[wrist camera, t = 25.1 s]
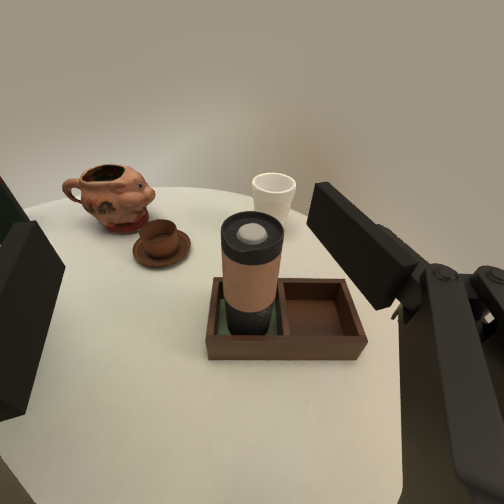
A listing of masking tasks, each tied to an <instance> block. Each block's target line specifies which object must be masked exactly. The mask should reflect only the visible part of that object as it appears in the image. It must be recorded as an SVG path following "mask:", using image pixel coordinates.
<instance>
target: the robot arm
mask: <svg viewBox="0 0 504 504" xmlns="http://www.w3.org/2000/svg"><path fill="white" fill-rule="evenodd" d="M307 226H308V227H309V228H310V229H311V231H312V232H313V233H314V234H315V236H316V237H317V238H318V239H319V241H320V242H321V243H322V244H323V246H324V247H325V248H326V249H327V251H328V252H329V253H330V254H331V255H332V257H333V258H334V259H335V260H336V262H337V263H338V264H339V265H340V267H341V268H342V269H343V270H344V272H345V273H346V274H347V275H348V277H349V278H350V279H351V280H352V282H353V283H354V284H355V285H356V287H357V288H358V289H359V290H360V292H361V293H362V294H363V295H364V296H365V298H366V299H367V300H368V301H369V303H370V304H371V305H372V306H373V308H374V309H375V310H376V311H377V310H380V309H384V308H387V307H390V306H391V305H392V303H393V302H394V300H395V298H397V299H398V300H399V301H400V305H399V306H398V308H397V309H396V311H395V312H394V313H393V315H392V318H391V319H392V320H394V319H395V317H396V316H397V315H398V325H399V362H400V398H401V435H402V471H403V488H402V494H401V496H400V498H399V501H398V503H397V504H504V270H502V269H499V268H496V267H492V266H481V267H479V268H478V269H477V270H476V271H475V272H474V273H473V274H458V273H457V272H456V271H455V270H453V269H451V268H450V267H448V266H445V265H442V264H436V263H434V264H429V263H428V262H427V261H426V260H424V259H423V258H422V257H421V256H420V255H419V254H417V253H416V252H415V251H414V250H413V249H412V248H410V247H409V246H408V245H407V244H406V243H404V242H403V241H402V240H401V239H400V238H397V236H396V235H395V234H394V233H393V232H392V231H391V230H389V229H388V228H386V227H384V226H382V225H380V224H375V223H374V222H373V221H372V220H370V219H369V218H368V217H367V216H366V215H365V214H364V213H363V212H361V211H360V210H359V209H358V208H357V207H356V206H355V205H353V204H352V203H351V202H350V201H349V200H348V199H347V198H345V197H344V196H343V195H342V194H341V193H340V192H339V191H338V190H336V189H335V188H334V187H333V186H332V185H331V184H330V183H329V182H321V183H315V187H314V192H313V196H312V201H311V205H310V210H309V214H308V219H307ZM64 271H65V265H64V264H63V262H62V260H61V259H60V257H59V256H58V254H57V253H56V251H55V250H54V248H53V246H52V245H51V243H50V242H49V240H48V239H47V237H46V236H45V234H44V232H43V231H42V229H41V228H40V226H39V225H38V223H37V221H36V220H35V221H27V222H19V223H14V224H13V226H12V227H11V229H10V231H9V233H8V234H7V236H6V238H5V240H4V241H3V243H2V245H1V247H0V422H1V421H5V420H8V419H12V418H15V417H18V416H22V415H25V413H26V409H27V406H28V402H29V398H30V395H31V391H32V387H33V384H34V380H35V376H36V373H37V369H38V366H39V362H40V358H41V355H42V351H43V347H44V344H45V340H46V336H47V333H48V329H49V325H50V322H51V318H52V315H53V311H54V307H55V304H56V300H57V296H58V293H59V289H60V285H61V282H62V278H63V274H64ZM490 312H491V314H492V315H493V317H494V318H495V319H494V320H493V321H491V322H490V323H488V322H487V321H486V320H485V318H484V317H485V316H486V315H487V314H488V313H490ZM0 504H36V503H35V502H34V501H33V499H32V498H31V497H30V495H29V494H28V493H27V491H26V490H25V489H24V487H23V486H22V485H21V483H20V482H19V481H18V479H17V478H16V477H15V475H14V474H13V473H12V471H11V470H10V469H9V467H8V466H7V465H6V463H5V462H4V461H3V459H2V458H1V457H0Z"/></svg>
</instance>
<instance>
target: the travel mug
mask: <svg viewBox="0 0 504 504" xmlns="http://www.w3.org/2000/svg"><path fill="white" fill-rule="evenodd" d="M283 238H284V229H283V226H282V224H281V223H280V221H278V220H277V219H276V218H275V217H273V216H271V215H269V214H266V213H262V212H256V211H246V212H240V213H236V214H234V215H232V216H230V217H228V218H227V219H226V220H225V221H224V222H223V224H222V226H221V248H222V270H223V292H224V302H225V311H226V320H227V326H228V330H229V332H230V333H231V335H265V334H266V333H267V331H268V329H269V325H270V320H271V315H272V310H273V306H274V301H275V296H276V289H277V281H278V274H279V267H280V260H281V252H282V245H283Z"/></svg>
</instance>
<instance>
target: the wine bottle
mask: <svg viewBox="0 0 504 504" xmlns="http://www.w3.org/2000/svg"><path fill="white" fill-rule="evenodd" d="M27 221H30V219H29V218H28V217H27V215H26V214H25V212H24V211H23V209H22V208H21V206H20V205H19V203H18V202H17V200H16V199H15V197H14V196H13V194H12V193H11V191H10V190H9V188H8V187H7V185H6V184H5V182H4V181H3V179H2V178H1V176H0V244H2V243H3V241H4V240H5V238H6V236H7V234H8V233H9V231H10V229H11V227H12V226H13V224H14V223H19V222H27Z"/></svg>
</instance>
